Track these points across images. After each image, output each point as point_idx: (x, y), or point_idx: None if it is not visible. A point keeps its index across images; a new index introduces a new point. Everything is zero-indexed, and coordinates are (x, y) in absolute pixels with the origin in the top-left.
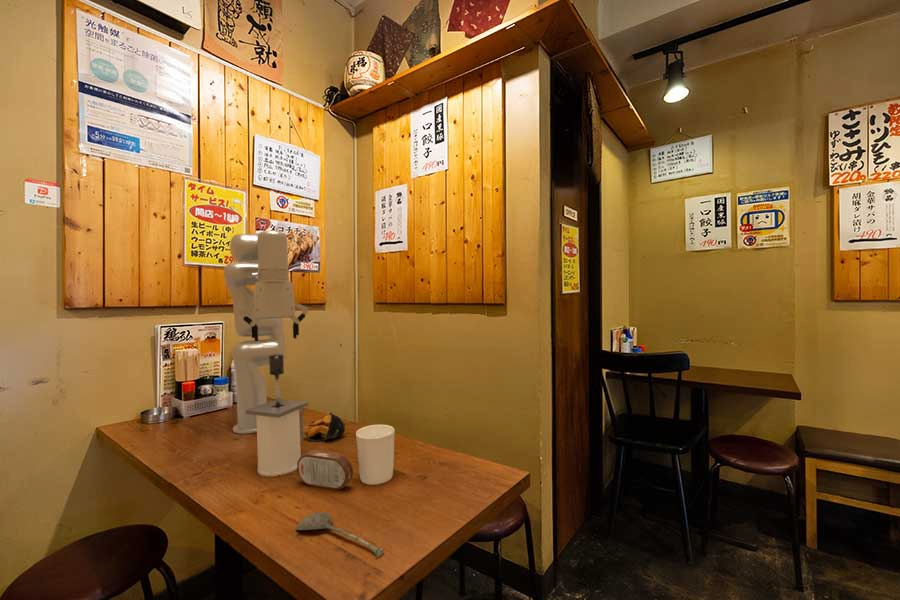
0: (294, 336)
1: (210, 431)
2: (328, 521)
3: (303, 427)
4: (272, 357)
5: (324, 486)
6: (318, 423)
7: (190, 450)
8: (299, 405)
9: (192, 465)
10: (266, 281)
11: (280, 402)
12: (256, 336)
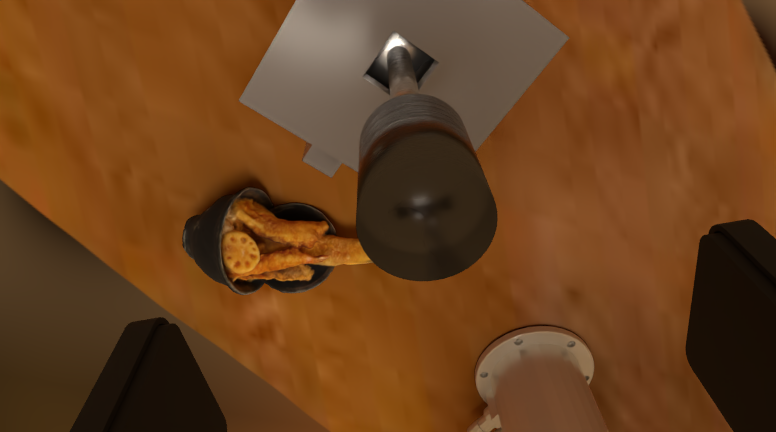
0: (150, 334)
1: (657, 371)
2: None
3: (344, 257)
4: (455, 161)
5: None
6: (283, 252)
7: None
8: (274, 38)
9: (686, 114)
10: None
11: None
12: (763, 263)
